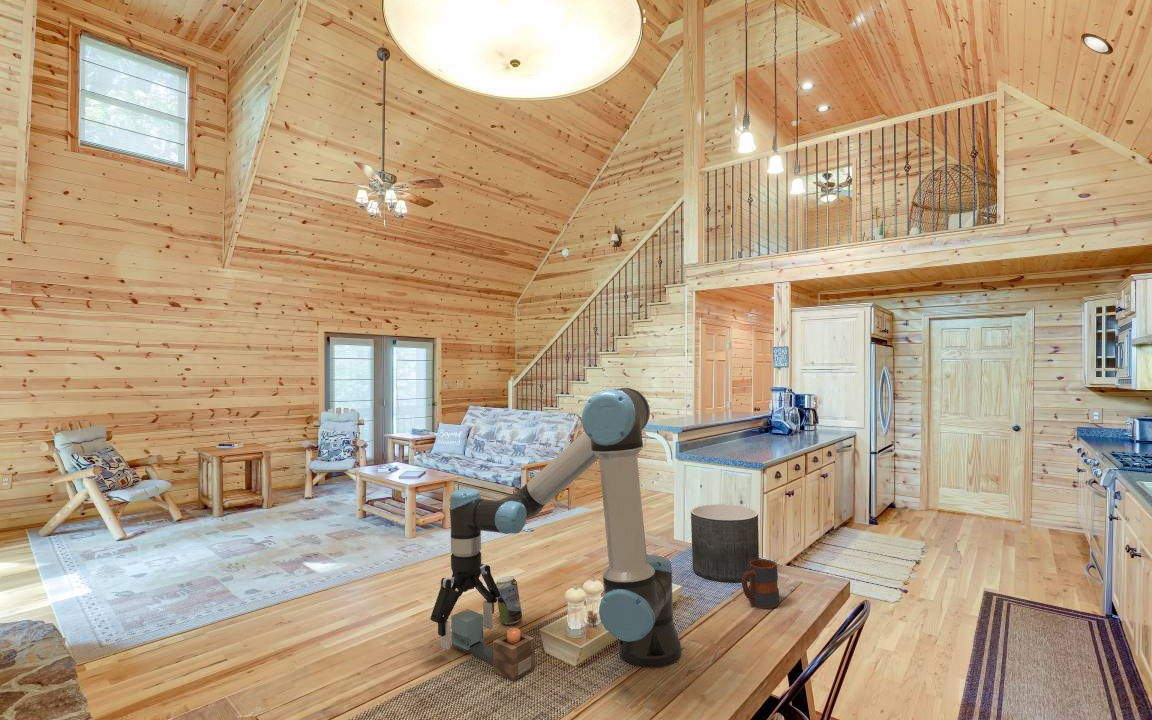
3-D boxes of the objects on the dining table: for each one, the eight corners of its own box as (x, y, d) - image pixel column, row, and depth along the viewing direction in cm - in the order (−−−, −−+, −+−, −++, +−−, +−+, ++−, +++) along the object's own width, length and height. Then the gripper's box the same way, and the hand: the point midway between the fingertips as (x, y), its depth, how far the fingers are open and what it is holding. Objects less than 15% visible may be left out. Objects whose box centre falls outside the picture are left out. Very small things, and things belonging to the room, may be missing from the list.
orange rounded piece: (523, 645, 133) (522, 630, 133) (513, 650, 131) (513, 635, 131) (514, 641, 135) (513, 626, 135) (504, 646, 133) (504, 631, 133)
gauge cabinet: (535, 668, 133) (535, 638, 133) (513, 681, 128) (513, 649, 128) (515, 659, 138) (514, 630, 138) (493, 671, 132) (493, 641, 132)
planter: (757, 562, 203) (755, 505, 203) (762, 585, 181) (760, 521, 182) (693, 558, 208) (691, 503, 208) (691, 580, 186) (689, 518, 187)
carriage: (483, 642, 144) (483, 614, 144) (467, 650, 140) (466, 622, 140) (468, 635, 147) (467, 608, 148) (451, 643, 143) (451, 615, 144)
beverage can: (518, 627, 155) (517, 583, 155) (492, 626, 156) (491, 581, 156) (525, 617, 161) (524, 574, 161) (500, 616, 162) (499, 573, 163)
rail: (509, 663, 136) (509, 648, 136) (500, 668, 134) (499, 653, 134) (461, 641, 148) (460, 627, 148) (451, 645, 145) (451, 631, 145)
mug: (733, 603, 168) (732, 563, 168) (764, 595, 173) (763, 556, 173) (753, 614, 160) (752, 572, 160) (786, 606, 165) (785, 565, 165)
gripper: (493, 537, 156) (494, 616, 156) (414, 562, 137) (416, 652, 136) (512, 542, 151) (514, 623, 151) (433, 569, 132) (435, 662, 132)
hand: (467, 637), depth 144 cm, fingers open, 13 cm apart
